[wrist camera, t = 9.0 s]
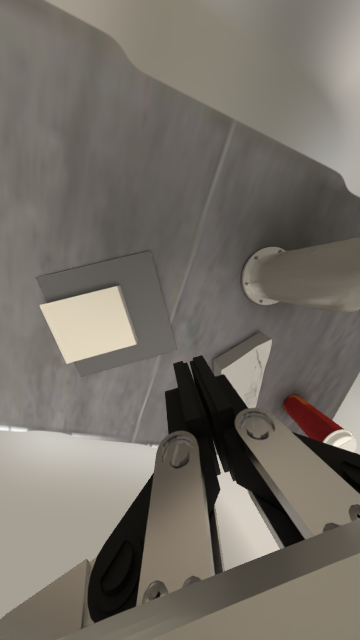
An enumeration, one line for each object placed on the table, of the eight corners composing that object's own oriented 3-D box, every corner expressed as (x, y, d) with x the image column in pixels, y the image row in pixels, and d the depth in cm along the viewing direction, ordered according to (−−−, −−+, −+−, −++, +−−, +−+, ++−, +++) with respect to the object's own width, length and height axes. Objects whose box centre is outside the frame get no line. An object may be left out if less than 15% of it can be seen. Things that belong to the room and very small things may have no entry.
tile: (117, 286, 32) (39, 305, 31) (136, 344, 35) (66, 363, 34) (120, 285, 35) (49, 302, 34) (137, 339, 38) (73, 356, 37)
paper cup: (279, 417, 50) (325, 468, 37) (279, 395, 48) (327, 440, 35) (304, 410, 51) (358, 458, 38) (304, 388, 49) (361, 430, 36)
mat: (150, 251, 35) (150, 250, 34) (176, 348, 41) (176, 349, 40) (37, 277, 33) (35, 277, 32) (82, 375, 39) (81, 377, 38)
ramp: (239, 427, 50) (249, 444, 44) (188, 417, 46) (193, 435, 41) (282, 338, 45) (299, 346, 39) (228, 320, 41) (239, 327, 36)
